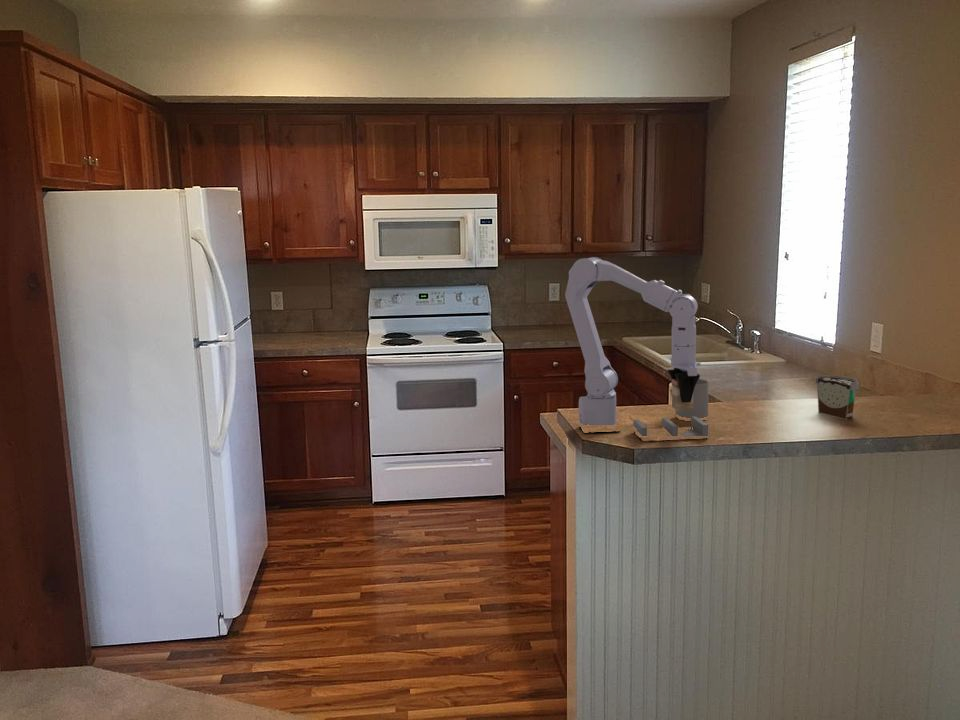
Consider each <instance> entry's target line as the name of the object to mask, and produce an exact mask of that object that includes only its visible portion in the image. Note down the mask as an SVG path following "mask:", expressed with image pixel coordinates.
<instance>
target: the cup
mask: <svg viewBox="0 0 960 720" xmlns="http://www.w3.org/2000/svg"><path fill="white" fill-rule="evenodd" d="M709 385H710V384H709V381H708V380H706V379H702V378H701V379H700V378H699V379H698V381H697V383H696V385H695V388H694V391H693V410H676V409H675V415H676V414H677V415H679V416H681V417H686V418H691V417H693V416H696V417H698V418H704V417H707V416H708V417H709V387H710V386H709Z"/></svg>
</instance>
